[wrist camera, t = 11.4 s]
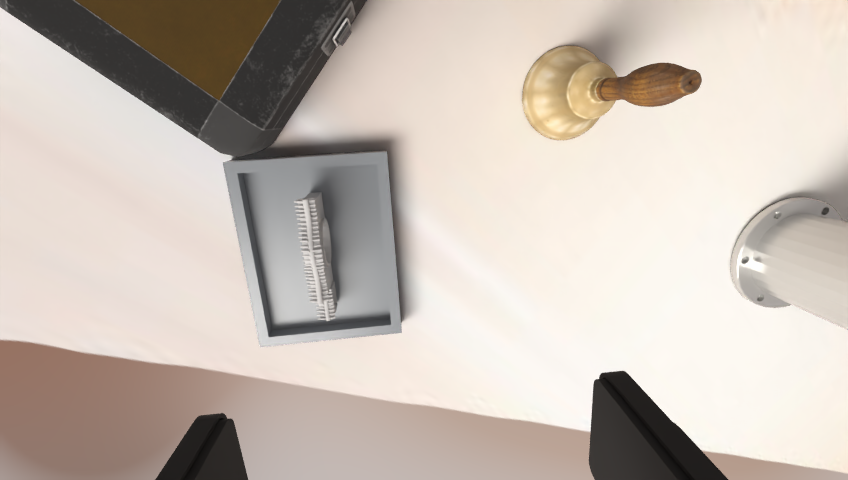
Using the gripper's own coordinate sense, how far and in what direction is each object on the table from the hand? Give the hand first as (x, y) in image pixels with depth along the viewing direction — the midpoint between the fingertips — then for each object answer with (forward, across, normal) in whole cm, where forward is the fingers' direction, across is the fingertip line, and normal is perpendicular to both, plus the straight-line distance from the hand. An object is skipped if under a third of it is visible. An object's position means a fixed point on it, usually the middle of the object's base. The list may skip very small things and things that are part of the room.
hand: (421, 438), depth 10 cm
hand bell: (+31, -16, -9) cm, 36 cm away
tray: (+30, +8, +4) cm, 31 cm away
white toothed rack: (+29, +8, +4) cm, 31 cm away
